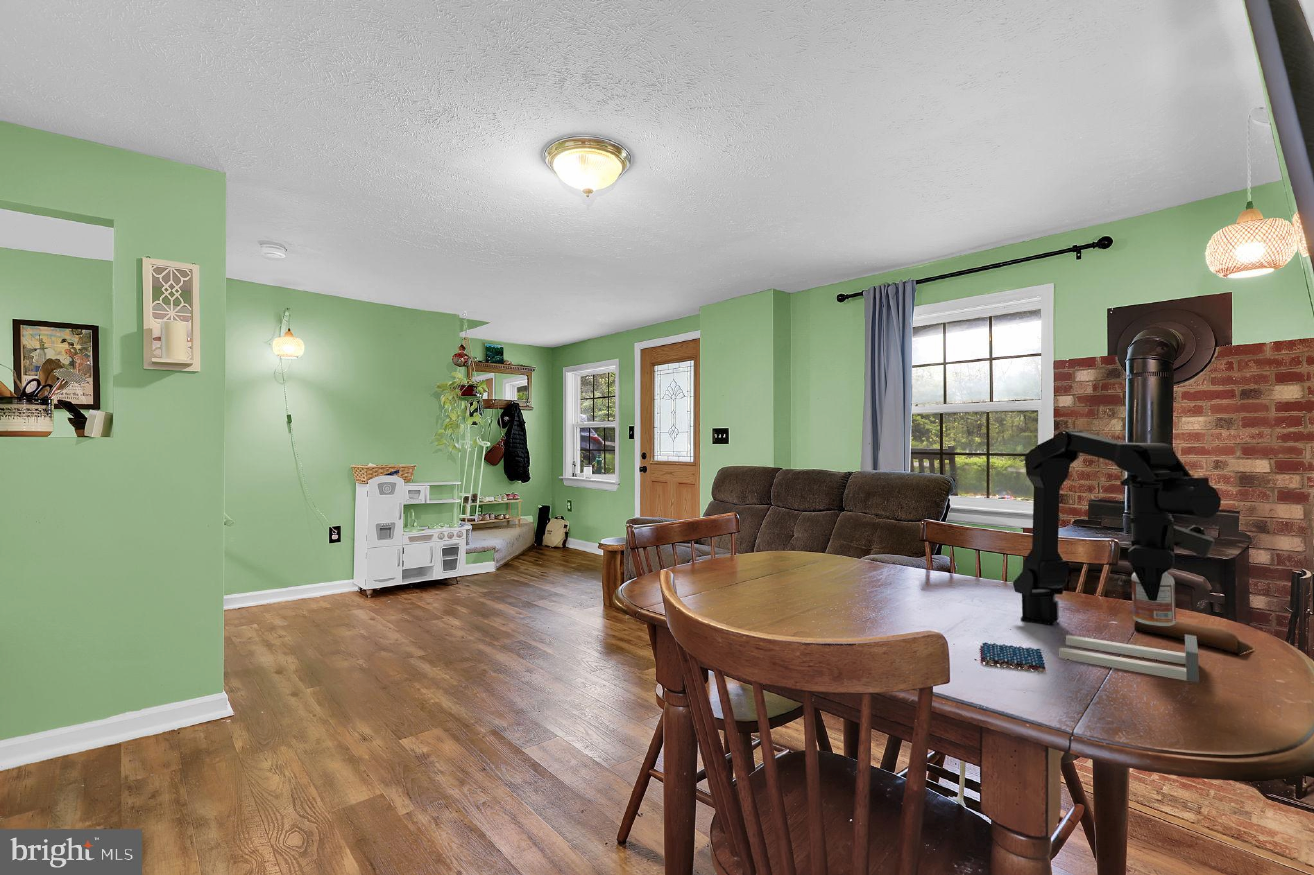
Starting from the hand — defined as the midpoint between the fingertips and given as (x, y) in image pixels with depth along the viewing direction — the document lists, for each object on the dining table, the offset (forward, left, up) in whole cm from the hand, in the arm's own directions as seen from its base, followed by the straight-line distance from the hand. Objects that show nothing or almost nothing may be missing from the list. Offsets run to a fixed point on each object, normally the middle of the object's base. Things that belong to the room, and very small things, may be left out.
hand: (1153, 597), depth 112 cm
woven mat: (-21, -12, -13) cm, 28 cm away
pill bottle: (0, 0, -5) cm, 5 cm away
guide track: (-4, 0, -12) cm, 13 cm away
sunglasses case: (+6, +23, -13) cm, 27 cm away
